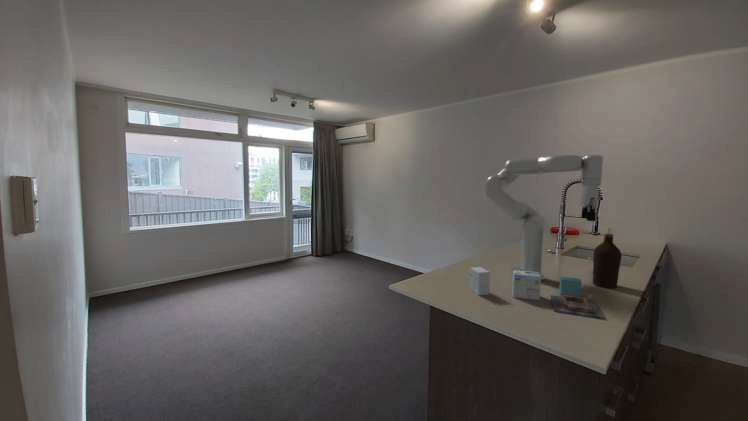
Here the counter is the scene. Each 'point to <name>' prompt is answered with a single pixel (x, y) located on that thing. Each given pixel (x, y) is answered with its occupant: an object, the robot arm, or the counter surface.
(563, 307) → the board
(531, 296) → the light bulb box
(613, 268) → the olive oil
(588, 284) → the counter surface
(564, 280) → the teal block
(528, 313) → the counter surface
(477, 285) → the small box
